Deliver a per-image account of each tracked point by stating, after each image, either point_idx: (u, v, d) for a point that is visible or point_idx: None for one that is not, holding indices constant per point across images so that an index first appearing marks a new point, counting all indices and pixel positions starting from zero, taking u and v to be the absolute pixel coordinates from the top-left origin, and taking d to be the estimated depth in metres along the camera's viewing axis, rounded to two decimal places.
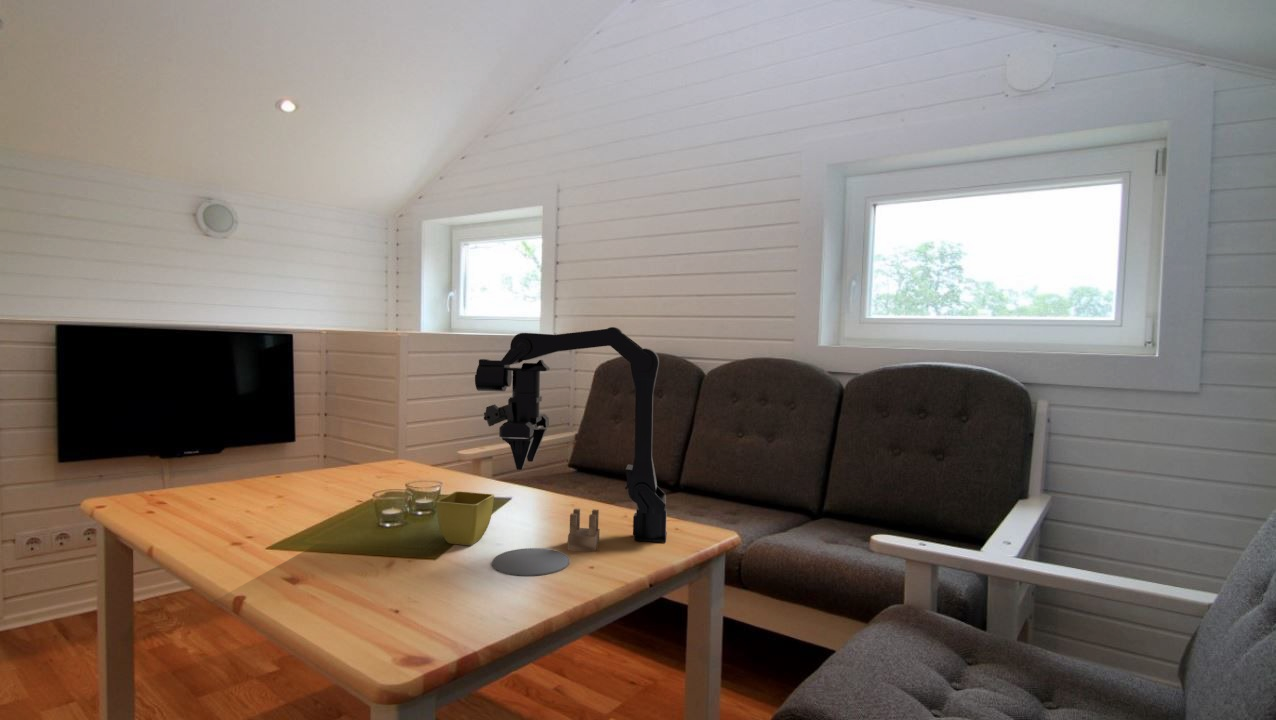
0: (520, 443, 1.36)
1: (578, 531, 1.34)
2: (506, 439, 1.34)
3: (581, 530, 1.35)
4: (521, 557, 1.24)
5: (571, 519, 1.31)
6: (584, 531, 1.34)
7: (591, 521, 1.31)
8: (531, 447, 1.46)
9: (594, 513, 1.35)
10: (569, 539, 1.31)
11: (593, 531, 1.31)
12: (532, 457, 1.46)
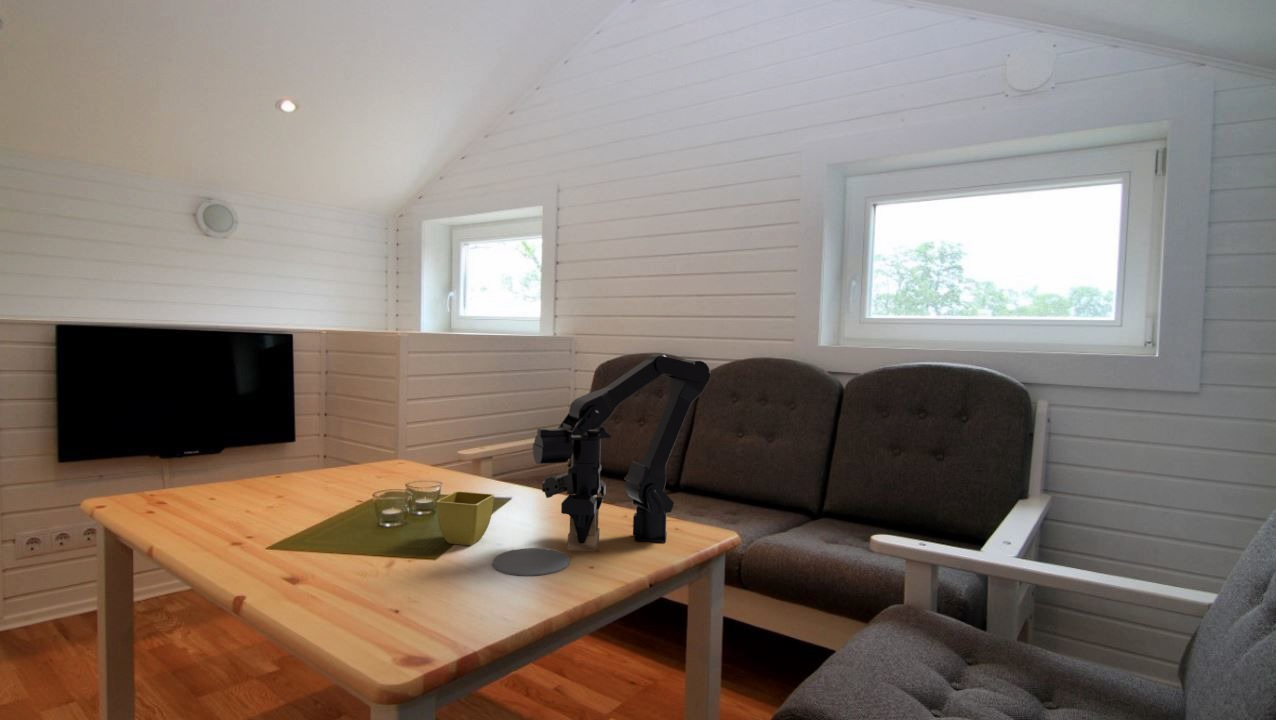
0: (584, 516, 1.29)
1: None
2: None
3: None
4: (521, 557, 1.24)
5: (571, 518, 1.31)
6: None
7: None
8: None
9: None
10: (569, 538, 1.31)
11: (593, 530, 1.31)
12: None
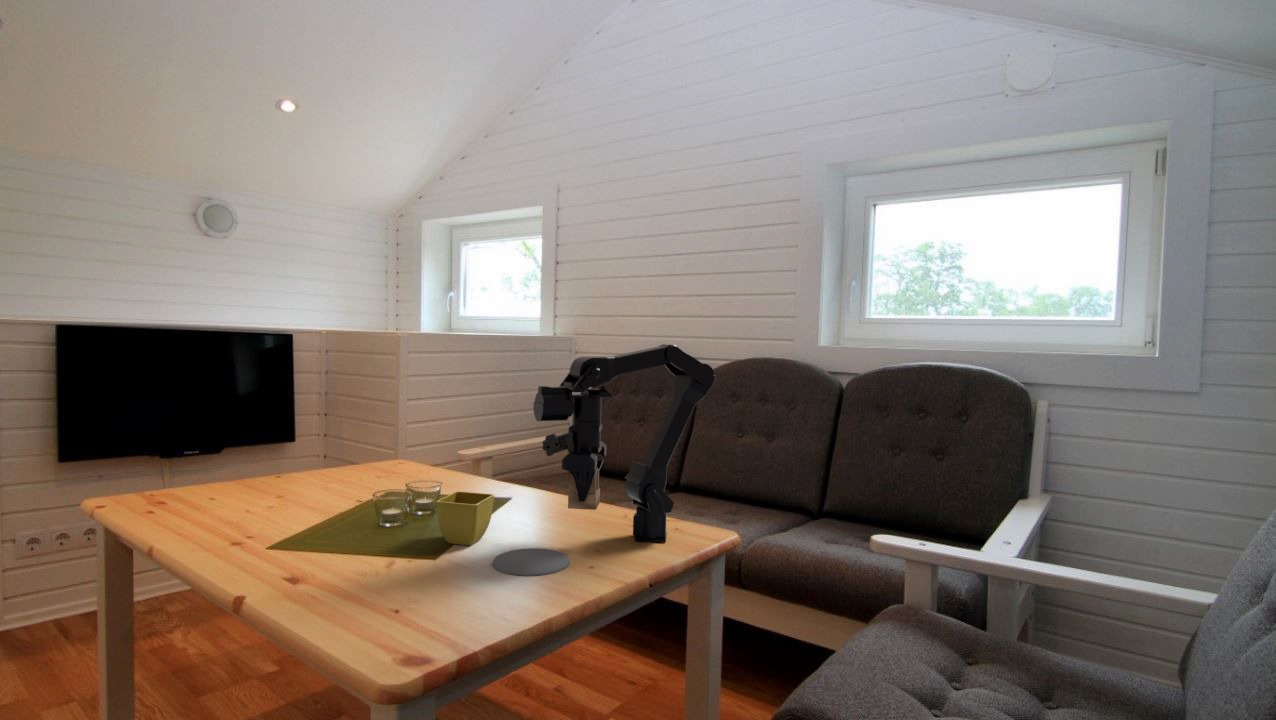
0: (584, 474, 1.29)
1: None
2: (570, 470, 1.27)
3: None
4: (521, 557, 1.24)
5: (571, 477, 1.31)
6: None
7: None
8: None
9: None
10: (569, 497, 1.31)
11: (593, 489, 1.31)
12: None
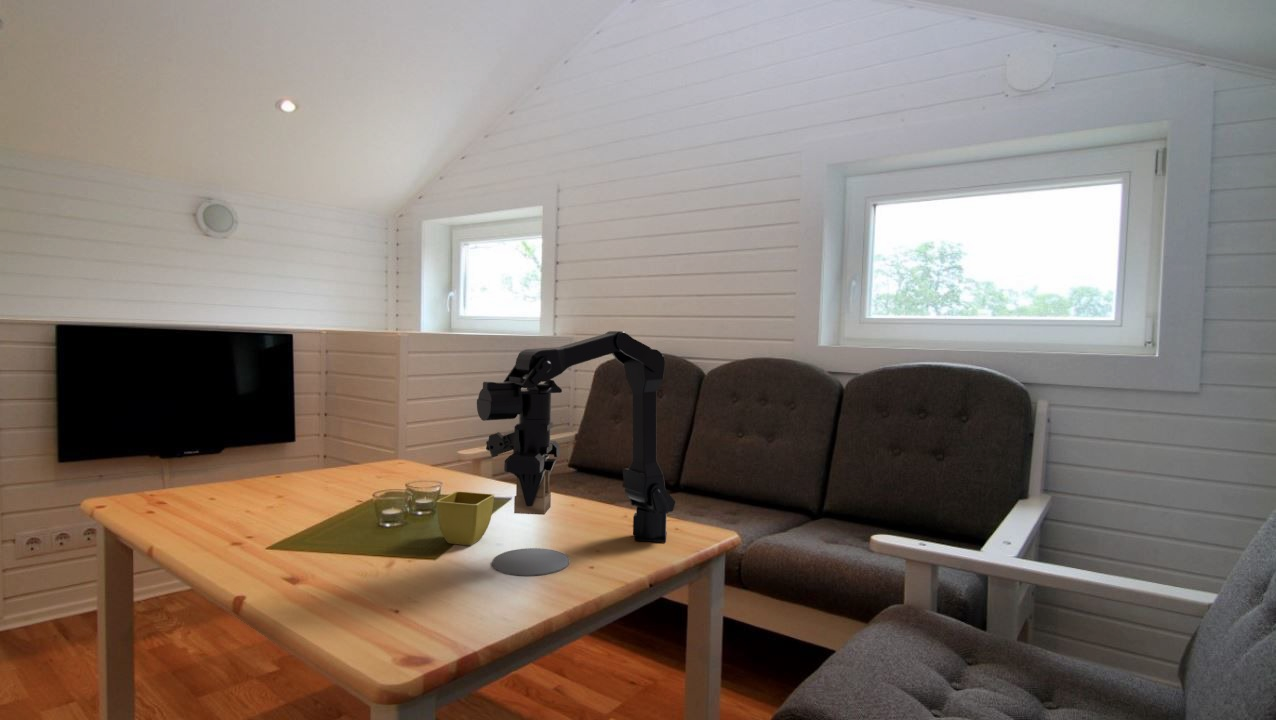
0: (531, 476, 1.19)
1: None
2: (515, 472, 1.17)
3: None
4: (521, 557, 1.24)
5: (518, 479, 1.21)
6: None
7: None
8: None
9: (544, 474, 1.24)
10: (516, 501, 1.20)
11: (542, 492, 1.20)
12: None
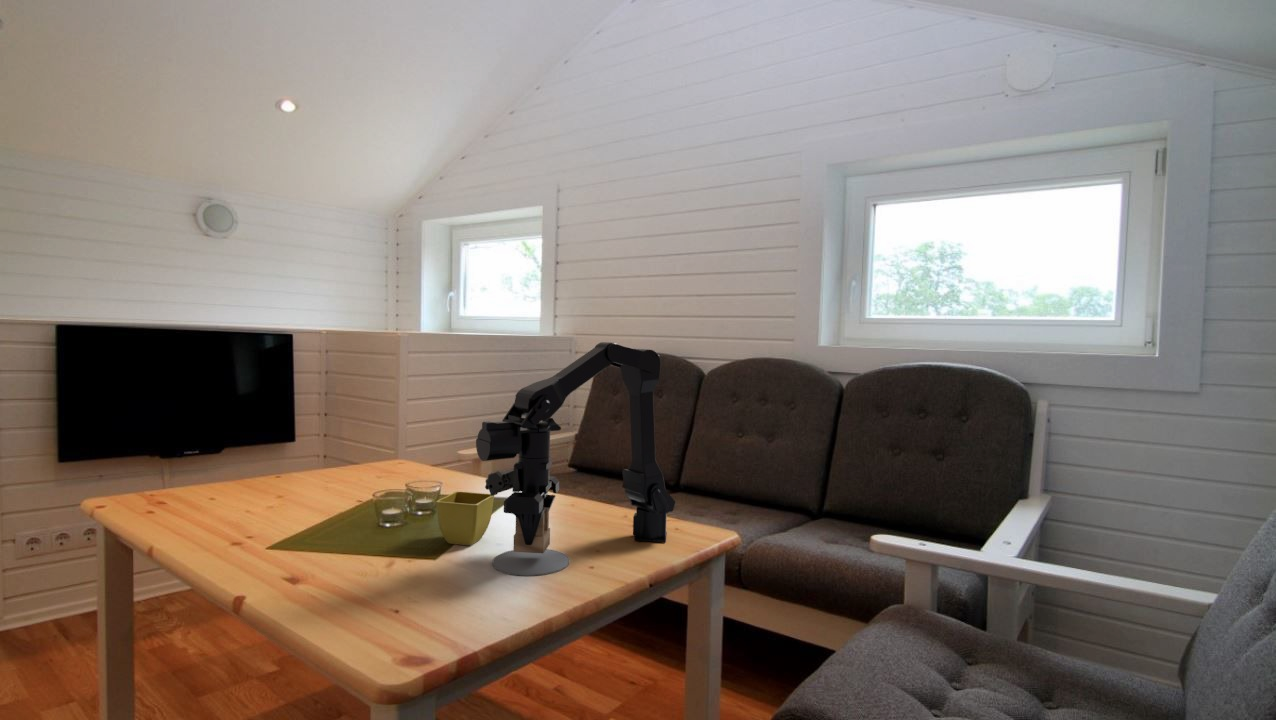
0: (530, 516, 1.19)
1: None
2: None
3: None
4: (521, 557, 1.24)
5: (517, 518, 1.21)
6: None
7: None
8: None
9: None
10: (515, 539, 1.21)
11: (541, 531, 1.21)
12: None
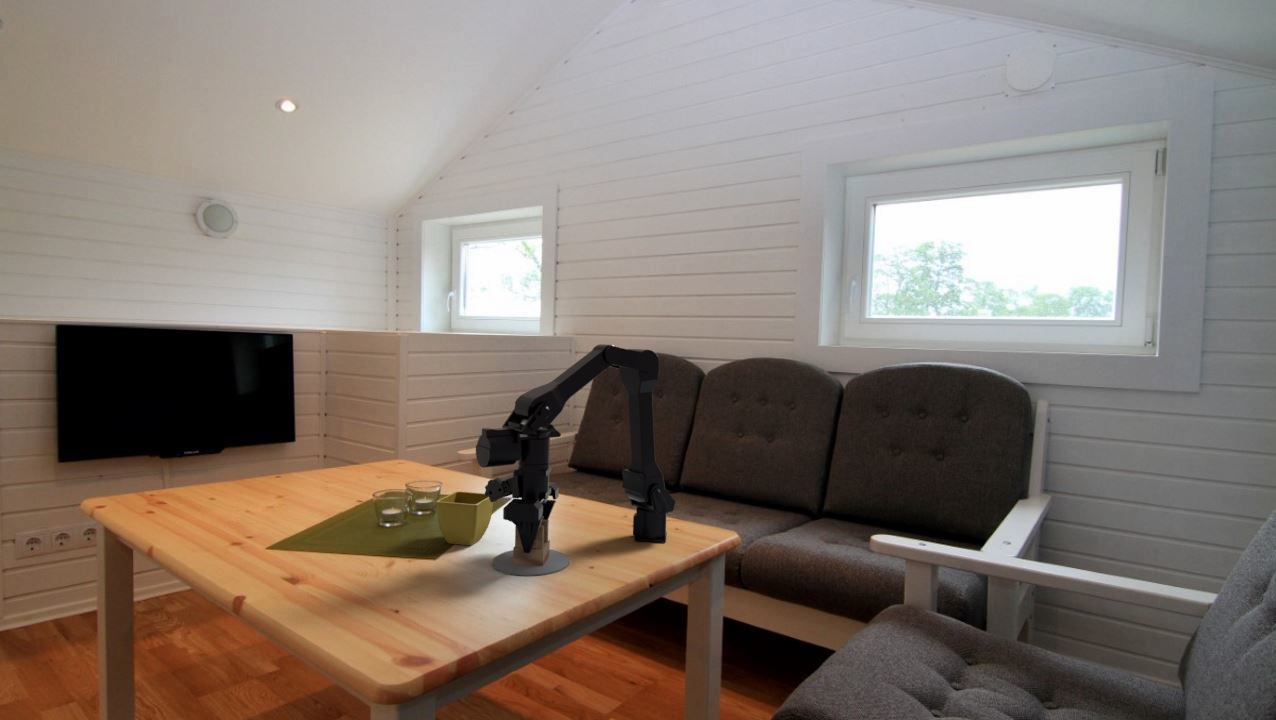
0: (529, 523, 1.18)
1: None
2: (512, 520, 1.16)
3: None
4: None
5: (517, 530, 1.21)
6: None
7: (538, 533, 1.21)
8: None
9: (543, 523, 1.24)
10: (514, 552, 1.21)
11: (540, 543, 1.21)
12: None
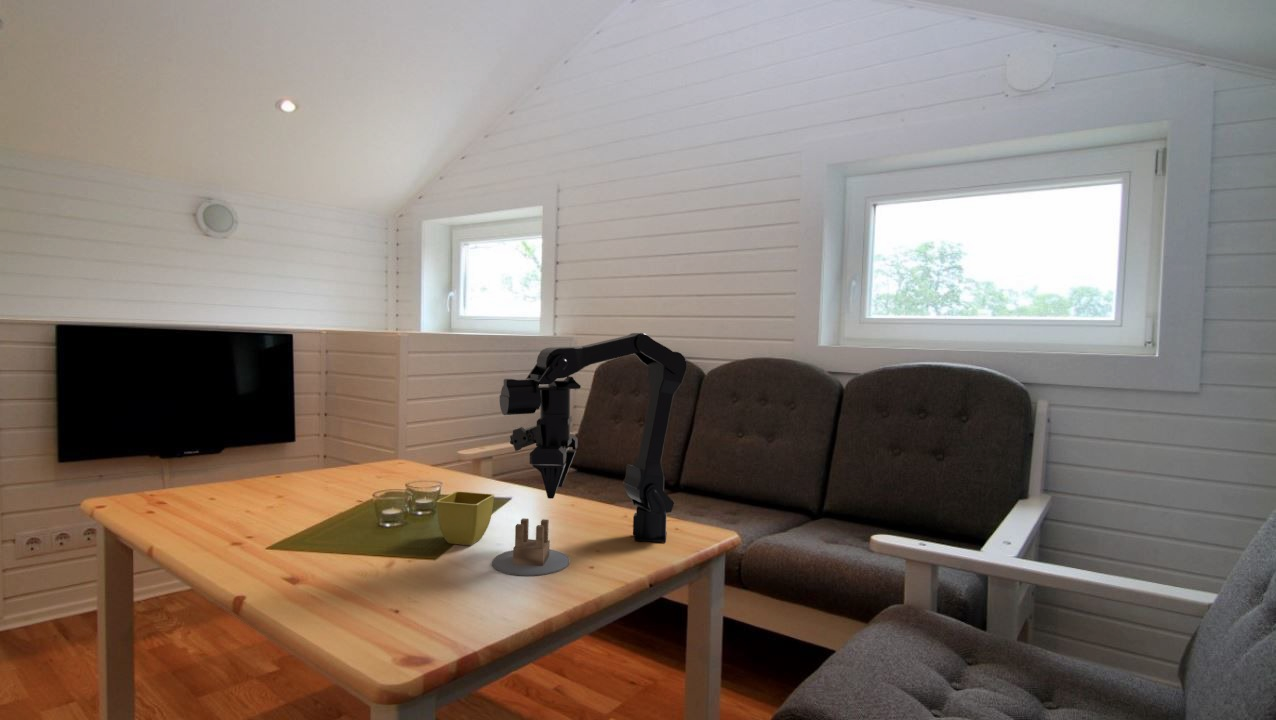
0: (552, 470, 1.24)
1: (525, 543, 1.24)
2: (537, 466, 1.22)
3: (529, 541, 1.25)
4: None
5: (517, 530, 1.21)
6: (532, 543, 1.23)
7: (538, 533, 1.21)
8: None
9: (543, 523, 1.24)
10: (514, 552, 1.21)
11: (540, 543, 1.21)
12: (561, 482, 1.34)
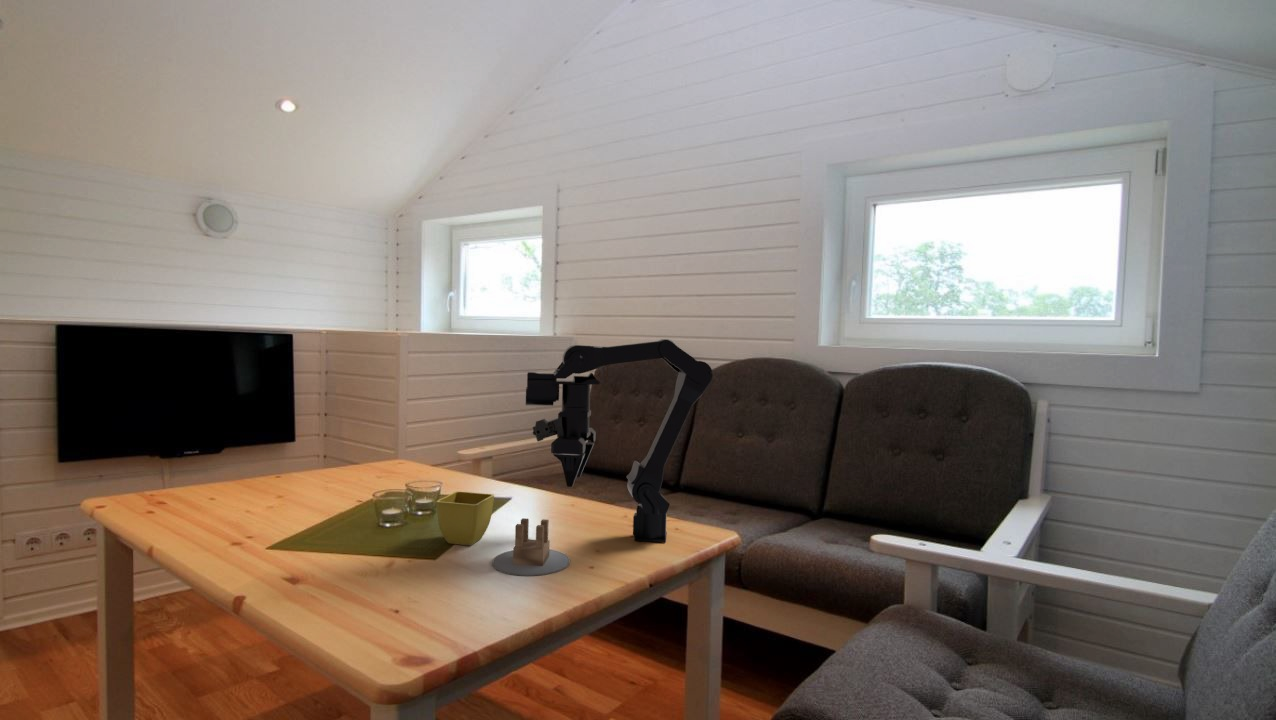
0: (572, 460, 1.31)
1: (525, 543, 1.24)
2: (558, 455, 1.29)
3: (529, 541, 1.25)
4: None
5: (517, 530, 1.21)
6: (532, 543, 1.23)
7: (538, 533, 1.21)
8: None
9: (543, 523, 1.24)
10: (514, 552, 1.21)
11: (540, 543, 1.21)
12: (579, 473, 1.42)
